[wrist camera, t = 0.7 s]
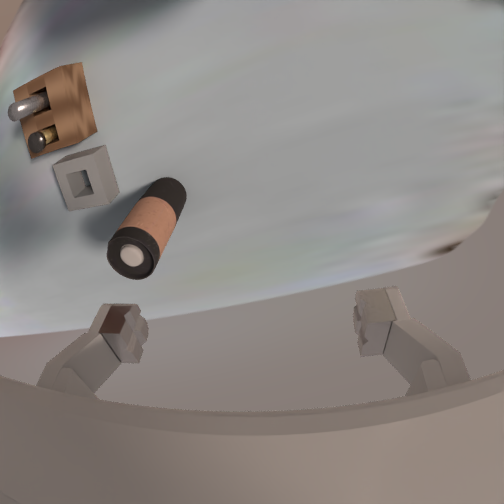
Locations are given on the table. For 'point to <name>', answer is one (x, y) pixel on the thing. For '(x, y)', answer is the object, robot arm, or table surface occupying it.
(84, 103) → the socket block
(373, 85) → the table surface
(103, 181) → the grey square ring block
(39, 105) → the grey tapered rounded rod
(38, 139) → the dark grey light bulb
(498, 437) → the robot arm
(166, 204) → the travel mug
